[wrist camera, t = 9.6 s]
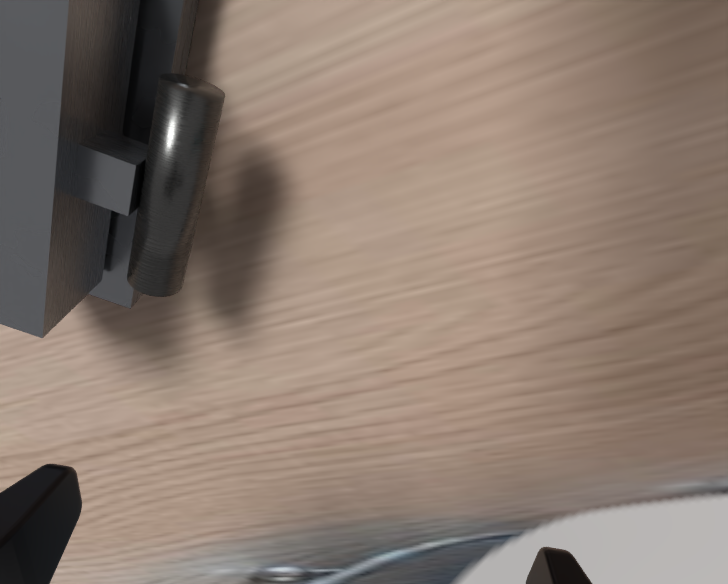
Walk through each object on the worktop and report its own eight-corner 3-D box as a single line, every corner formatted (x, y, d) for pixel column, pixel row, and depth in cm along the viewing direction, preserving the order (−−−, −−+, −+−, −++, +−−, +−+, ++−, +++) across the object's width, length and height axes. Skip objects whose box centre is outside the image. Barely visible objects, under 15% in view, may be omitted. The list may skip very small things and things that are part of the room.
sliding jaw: (260, 10, 15) (218, 22, 12) (189, 311, 20) (146, 373, 17) (13, -90, 14) (-97, -103, 11) (3, 245, 19) (-76, 298, 16)
